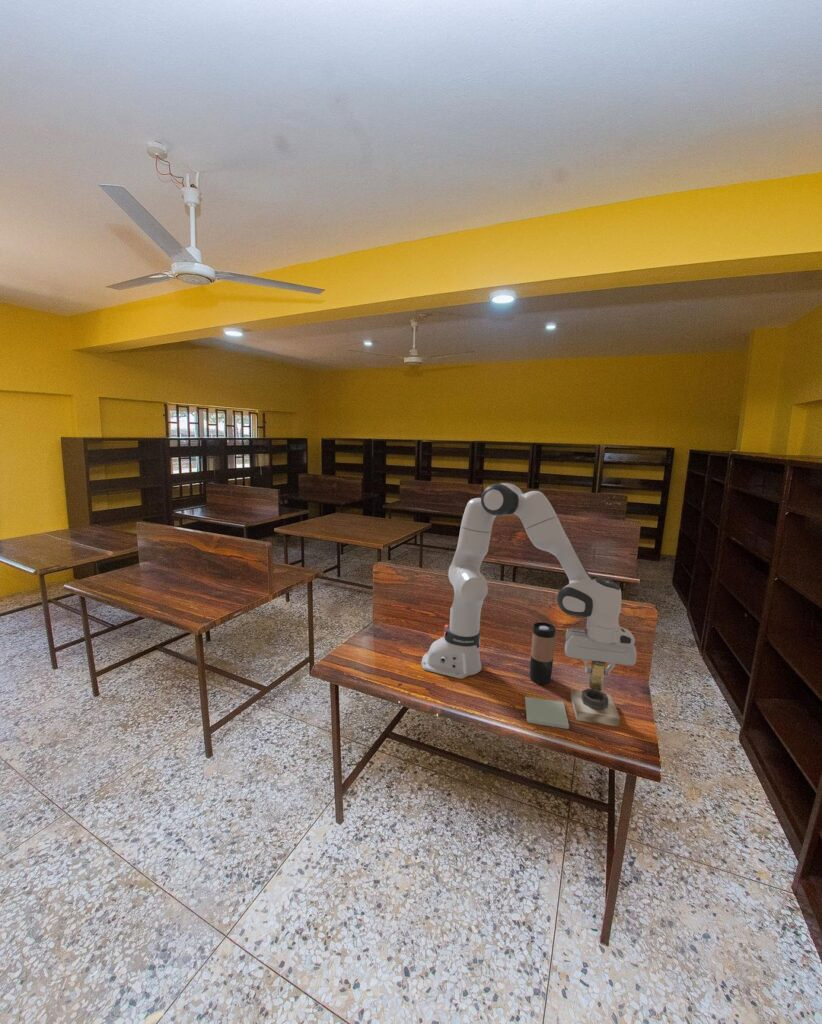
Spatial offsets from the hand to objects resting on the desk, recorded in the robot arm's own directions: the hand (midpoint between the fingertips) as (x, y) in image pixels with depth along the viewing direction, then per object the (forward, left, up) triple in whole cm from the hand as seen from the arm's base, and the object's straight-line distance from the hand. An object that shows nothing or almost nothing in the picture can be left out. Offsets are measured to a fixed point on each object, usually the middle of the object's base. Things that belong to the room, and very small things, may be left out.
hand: (597, 673), depth 130 cm
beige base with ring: (0, 0, -13) cm, 13 cm away
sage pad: (-15, -5, -13) cm, 20 cm away
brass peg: (0, 0, -5) cm, 5 cm away
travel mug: (-15, +15, -13) cm, 25 cm away
